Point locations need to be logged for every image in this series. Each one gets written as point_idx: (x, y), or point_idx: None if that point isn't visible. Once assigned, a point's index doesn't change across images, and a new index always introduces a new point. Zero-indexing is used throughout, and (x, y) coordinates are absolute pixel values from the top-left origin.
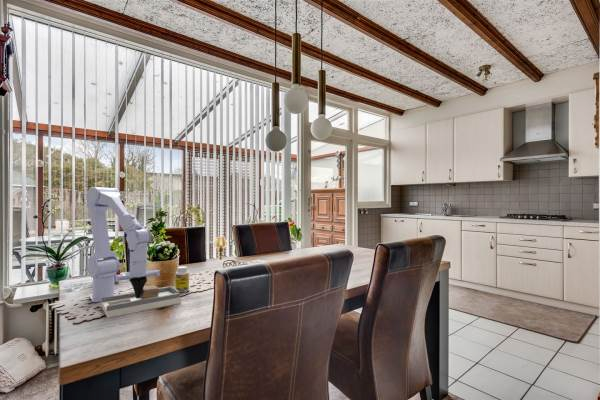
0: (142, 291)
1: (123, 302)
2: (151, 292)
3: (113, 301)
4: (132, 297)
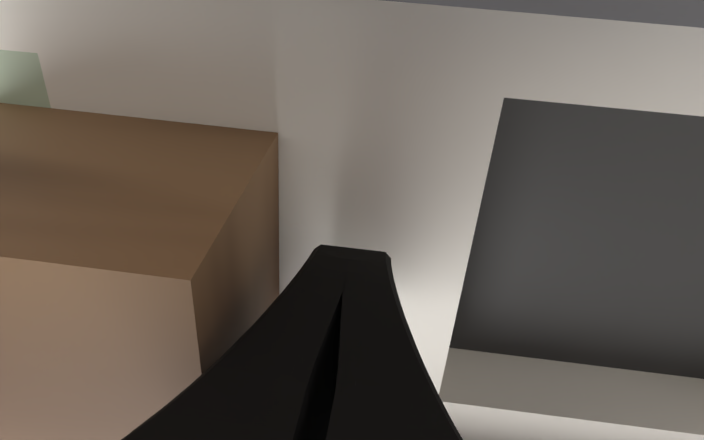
0: None
1: (519, 377)
2: (31, 194)
3: (671, 436)
4: None
